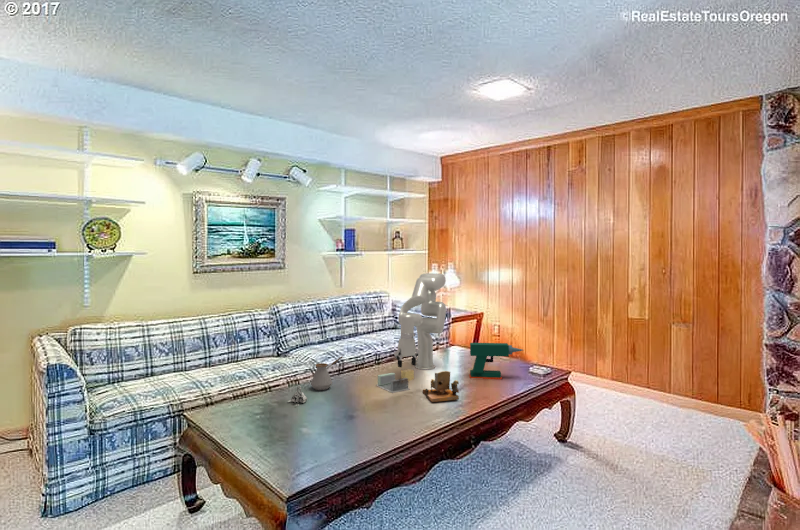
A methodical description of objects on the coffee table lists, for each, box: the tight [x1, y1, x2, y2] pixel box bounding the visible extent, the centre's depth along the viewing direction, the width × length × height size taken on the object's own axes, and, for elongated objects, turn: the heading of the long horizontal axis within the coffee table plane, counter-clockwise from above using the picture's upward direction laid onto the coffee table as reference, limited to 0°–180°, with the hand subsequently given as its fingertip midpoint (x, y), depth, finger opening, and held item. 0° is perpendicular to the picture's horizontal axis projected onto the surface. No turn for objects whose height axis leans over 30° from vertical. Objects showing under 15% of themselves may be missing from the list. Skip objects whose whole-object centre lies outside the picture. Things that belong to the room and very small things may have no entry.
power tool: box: [468, 342, 524, 380], centre depth 266 cm, size 32×7×20 cm, turn 84°
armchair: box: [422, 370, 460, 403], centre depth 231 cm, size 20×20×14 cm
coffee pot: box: [310, 356, 345, 391], centre depth 249 cm, size 21×12×15 cm, turn 138°
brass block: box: [400, 368, 415, 382], centre depth 260 cm, size 4×6×6 cm, turn 125°
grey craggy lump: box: [287, 385, 308, 407], centre depth 223 cm, size 9×9×8 cm
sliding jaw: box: [377, 372, 396, 385], centre depth 251 cm, size 3×10×5 cm, turn 125°
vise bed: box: [376, 378, 410, 394], centre depth 246 cm, size 16×11×6 cm
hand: (406, 366), depth 260 cm, fingers open, 9 cm apart
